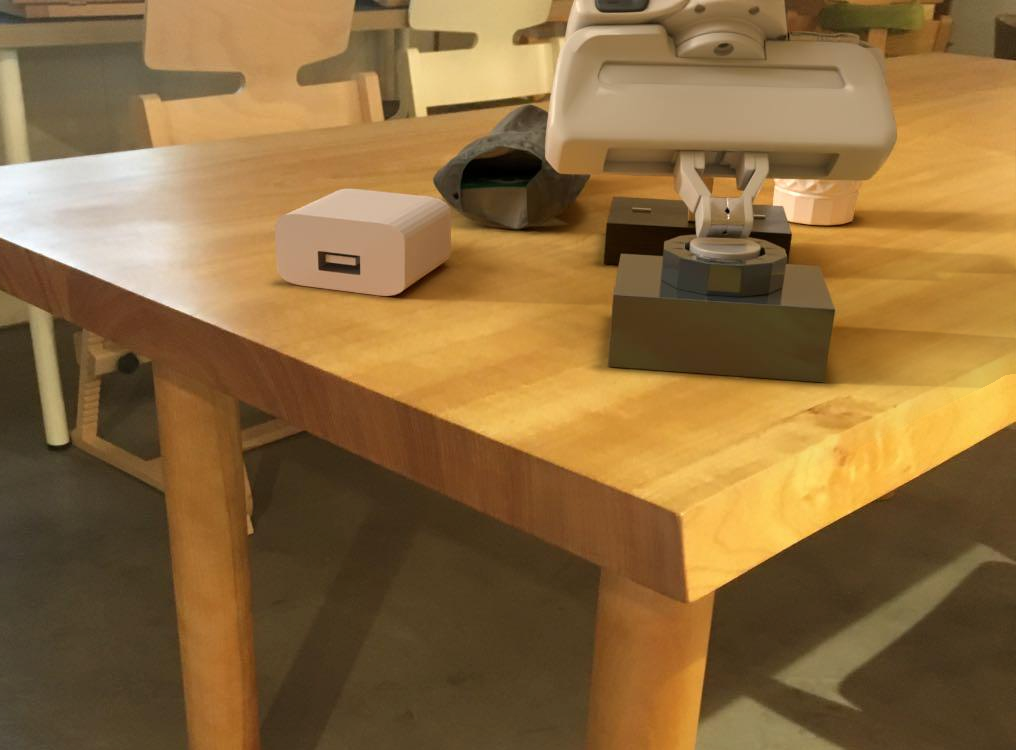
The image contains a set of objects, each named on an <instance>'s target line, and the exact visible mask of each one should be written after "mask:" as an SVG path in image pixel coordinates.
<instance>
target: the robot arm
mask: <svg viewBox="0 0 1016 750" xmlns="http://www.w3.org/2000/svg"><path fill="white" fill-rule="evenodd" d="M786 13H787V12H786V1H785V0H573V3H572V6H571V8H570V12H569V15H568V21H567V23H566V29H565V36H564V42H563V44H562V45H561V48H560V50H559V52H558V55H557V60H556V64H555V69H554V74H553V80H552V86H551V92H550V98H549V104H548V111H547V112H548V120H547V128H546V139H545V158H546V160H547V161H548V163H549V164H550V165H551V166H552V167H553V168H554V169H555V170H556V171H557V172H558V173H560V174H588V175H591V176H594V175H596V176H632V177H633V176H637V177H639V176H641V177H645V176H646V177H673V187H674V188H673V189H674V191H675V192H676V194H677V195H678V196H679V198H680V200H683V201H684V203H685V204H686V205H687V207H688V208H689V209H690V210H691V212H692V213H693V214H695V222H696V235H697V237H699V238H734V239H747V238H748V237H749V234H750V232H751V230H752V227H753V207H752V204H754V203H755V201H756V199H757V198H758V195H759V194H760V192H761V191H762V188H763V186H764V184H765V182H766V179H767V180H768V179H769V180H770V179H771V180H774V179H810V180H853V181H862V182H864V181H868V180H871V179H872V178H873V177H874V176H875V175H876V174H877V173H878V172H879V171H880V169H882V167H883V166H884V165H885V163H886V162H887V161H888V159H889V157H890V155H891V154H892V152H893V150H894V148H895V145H896V143H897V139H898V128H897V121H896V115H895V112H894V107H893V104H892V99H891V96H890V92H889V89H888V86H887V84H888V75H887V74H888V73H887V65H886V58H885V56H884V53H883V51H882V50H881V48H878V47H876V46H874V45H873V44H871V43H870V42H868V41H865V40H861V37H860V35H859V34H855V33H852V32H837V33H830V34H829V33H820V32H815V31H798V30H797V31H792V30H788V25H787V14H786ZM701 177H714V178H722V179H723V178H725V179H726V178H728V179H730V178H731V179H735V183H736V184H735V185H736V190H737V191H741V192H742V194H741V196H740V197H739V196H738V197H735V196H734V197H733V196H731V197H730V196H727V197H725V196H724V197H723V196H713V193H712V194H711V193H710V191H709V190H708V188H707V187H706V185H705V184H704V182H703V181H702V179H701Z"/></svg>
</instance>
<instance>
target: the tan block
mask: <svg viewBox="0 0 1016 750" xmlns="http://www.w3.org/2000/svg"><path fill="white" fill-rule="evenodd" d="M701 179H702V181H703V182H704V184H705V185H706V187H707V188H708V190H709V191H710V193H711V194H712V195H713V188H714V180H715V177H701ZM688 221H695V214H693V213H692V212H691V210H690V209H689V208H688Z"/></svg>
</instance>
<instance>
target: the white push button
mask: <svg viewBox="0 0 1016 750" xmlns="http://www.w3.org/2000/svg"><path fill="white" fill-rule="evenodd" d="M689 251H690V252H692V253H694V254H697V255H702V256H706V257H711V258H719V259H735V260H740V259H751V258H758V257H760V251H761V247H760V245H759V244H757V243H755V242H753V241H750V240H747V239H734V238H695V239H693V240H691V242H690V246H689Z"/></svg>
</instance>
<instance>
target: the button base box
mask: <svg viewBox="0 0 1016 750" xmlns="http://www.w3.org/2000/svg"><path fill="white" fill-rule="evenodd" d="M695 238H699V237H697V235H684V236H679V237H676V238H673V239H670V240H667V241H665V242H664V249H663V256H650V255H634V254H621V255H620V260H619V265H617V272H616V278H615V283H614V287H613V293H612V305H611V316H610V317H611V318H610V319H611V320H610V328H609V329H610V332H609V343H608V356H607V367H608V368H621V369H623V368H624V369H634V370H647V371H663V372H676V373H689V374H702V375H714V376H715V375H717V376H729V377H744V378H758V379H772V380H785V381H798V382H810V383H811V382H812V383H824V382H825V377H826V372H827V371H826V370H827V364H828V358H829V352H830V346H831V339H832V335H833V327H834V321H835V315H836V307H835V305H834V303H833V302H834V301H833V299H832V297H831V293H830V291H829V288H828V286H827V283H826V279H825V277H824V274H823V272H822V269H821V266H820V265H811V264H810V265H807V264H795V263H794V264H793V263H792V264H791V263H788V264H786V262H787V255H786V252H785V249H784V248H782V247H779V246H777V245H775V244H773V243H770V242H768V241H766V240H760V239H755V238H750V237H748V238H747V240H750V241H753V242H755V243H757V244H759V245H760V247H761V251H760V257H758V258H751V259H740V260H735V259H719V258H711V257H706V256H702V255H697V254H694V253H692V252H690V251H689V246H690V242H691V240H693V239H695Z"/></svg>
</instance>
